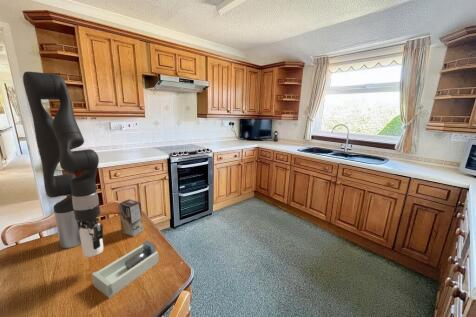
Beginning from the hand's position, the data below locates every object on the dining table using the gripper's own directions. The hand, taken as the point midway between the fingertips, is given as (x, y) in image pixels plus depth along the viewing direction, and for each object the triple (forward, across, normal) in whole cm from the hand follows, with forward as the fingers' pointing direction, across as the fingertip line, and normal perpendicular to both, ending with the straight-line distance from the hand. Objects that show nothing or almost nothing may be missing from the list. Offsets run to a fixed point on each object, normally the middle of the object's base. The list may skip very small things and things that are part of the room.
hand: (92, 244), depth 77 cm
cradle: (+11, +13, +5) cm, 18 cm away
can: (+3, 0, 0) cm, 3 cm away
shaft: (+10, +13, +11) cm, 19 cm away
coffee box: (+12, -12, +24) cm, 29 cm away
